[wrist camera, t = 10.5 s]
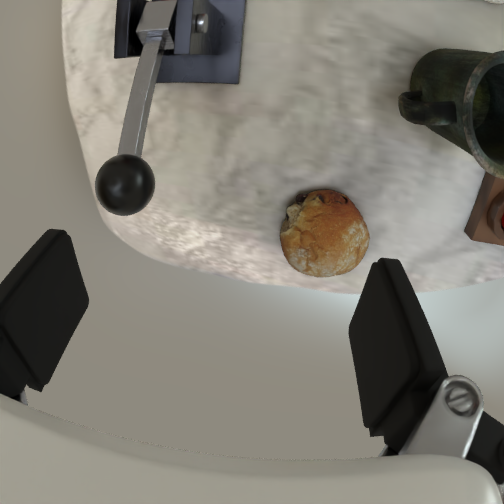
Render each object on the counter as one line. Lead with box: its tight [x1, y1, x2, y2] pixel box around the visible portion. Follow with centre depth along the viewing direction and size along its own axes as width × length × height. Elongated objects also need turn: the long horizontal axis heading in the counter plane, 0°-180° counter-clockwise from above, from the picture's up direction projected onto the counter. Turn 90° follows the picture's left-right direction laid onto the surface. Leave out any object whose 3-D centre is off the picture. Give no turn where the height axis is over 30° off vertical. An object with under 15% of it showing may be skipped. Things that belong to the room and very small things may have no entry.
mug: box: [399, 48, 504, 179], centre depth 21 cm, size 11×15×12 cm
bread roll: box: [280, 190, 370, 277], centre depth 35 cm, size 10×10×8 cm
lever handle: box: [95, 0, 177, 216], centre depth 16 cm, size 14×3×3 cm
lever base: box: [114, 0, 246, 84], centre depth 20 cm, size 10×9×13 cm
